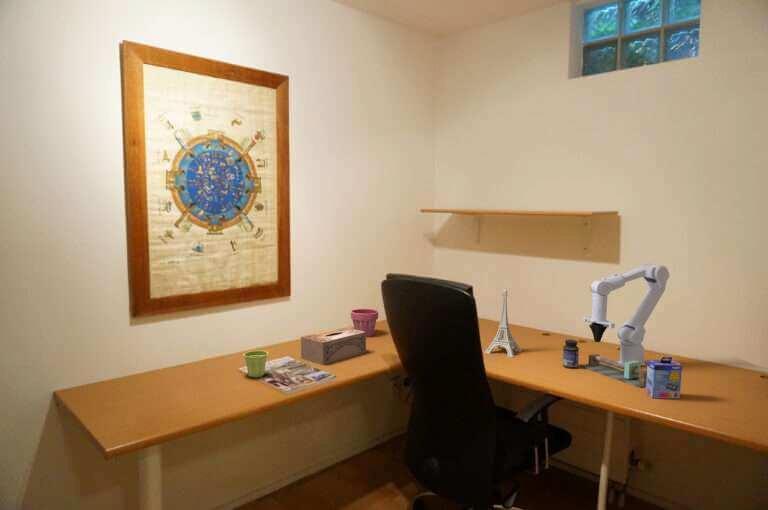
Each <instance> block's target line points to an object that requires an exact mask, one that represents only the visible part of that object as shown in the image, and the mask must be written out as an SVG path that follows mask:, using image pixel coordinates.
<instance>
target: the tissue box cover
mask: <svg viewBox="0 0 768 510" xmlns="http://www.w3.org/2000/svg"><path fill="white" fill-rule="evenodd" d="M366 353H367V337H366V332H364V331H360V330H355V329H354V328H350V327H345V326H342V327H337V328H334V329H329V330H324V331H321V332H315V333H312V334H308V335H303V336H300V359H301V360H304V361H307V362H311V363H314V364H317V365H320V366H325V365H326V366H327V365H328V364H332V363H336V362H339V361H343V360H347V359H350V358H354V357H357V356H361V355H364V354H366Z"/></svg>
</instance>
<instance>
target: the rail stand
mask: <svg viewBox="0 0 768 510" xmlns="http://www.w3.org/2000/svg"><path fill="white" fill-rule="evenodd" d="M580 367H581V368H583V369H586V370H590V371H592V372H594V373H597V374H600V375H603V376H606V377H608V378H611V379H614V380H617V381H620V382H623V383H625V384H629V385H631V386H634V387H637V388H640V389H641V388H646V381H647V369H644V370H643V369H641V368H640V369H637V368H636V367H633V366H632V367H631V373H633V374H634V373H635V374H638V375H639V377H637V378H632V379H627V378H624V367H625V364H621V363H618V362H616V361H615V360H611V359H609V358H606V357H602V356H601V355H600V354H598V353H593V354H592V353H591V354H588V362H587V364H582V365H580Z"/></svg>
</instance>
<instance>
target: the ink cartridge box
mask: <svg viewBox="0 0 768 510" xmlns="http://www.w3.org/2000/svg"><path fill="white" fill-rule="evenodd" d="M646 365H647V367H646V370H647V381H646V387H645V393H646V394H647V395H648V396H649V397H650V398H652V399H672V400H673V399H677V400H678V399H679V400H680V397H681V396H680V395H681V386H682V385H681V384H682V373H683V365H682V364H681V363H679V362H677V361H676V360H673V356H662V357H661V358H660V360H659V359H656V360H655V359H653V360H650V359H649V360H647V364H646Z"/></svg>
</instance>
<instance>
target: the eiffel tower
mask: <svg viewBox="0 0 768 510" xmlns="http://www.w3.org/2000/svg"><path fill="white" fill-rule="evenodd" d="M501 295H502V304H501V305H502V306H501V315H500V319H499V320H500V321H499V325H498V329H497V333H496V335H495V337H494V338H493V339H492V342H491V344H489V346H488V348H487V349H486V350H485V351H484V354H489V355H491V354H492V351H493V349H500V348H501V347H500V346H502V347H504V348H505V349H506V352H507V355H506V357H508V358H515V356H516V355H515V354H514V352H518V353H521V352H522V351H523V350H522V348H521V347H520V346H519V345H518V343H517V342H516V340H515V338H514V337H513V335H512V333H511V330H510V325H509V319H508V305H507V304H508V303H507V298H508V290H507V288H506V287H503V290H502V293H501ZM513 348H514V351H513ZM490 353H491V354H490Z"/></svg>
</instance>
